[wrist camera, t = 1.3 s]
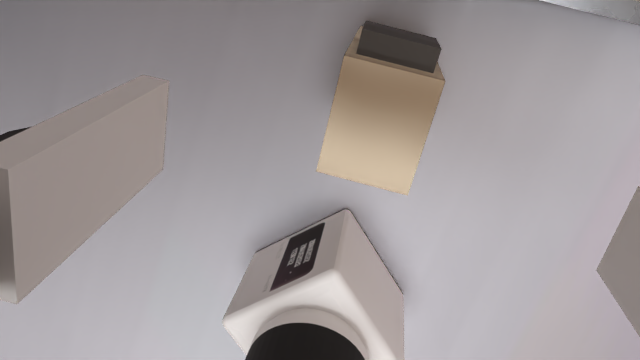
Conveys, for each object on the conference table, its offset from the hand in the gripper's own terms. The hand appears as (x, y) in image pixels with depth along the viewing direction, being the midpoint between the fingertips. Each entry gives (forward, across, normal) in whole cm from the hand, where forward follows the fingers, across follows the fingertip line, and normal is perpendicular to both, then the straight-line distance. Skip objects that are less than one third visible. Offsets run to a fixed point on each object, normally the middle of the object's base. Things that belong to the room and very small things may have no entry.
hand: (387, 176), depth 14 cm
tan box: (+17, 0, -1) cm, 17 cm away
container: (+17, -1, -15) cm, 22 cm away
